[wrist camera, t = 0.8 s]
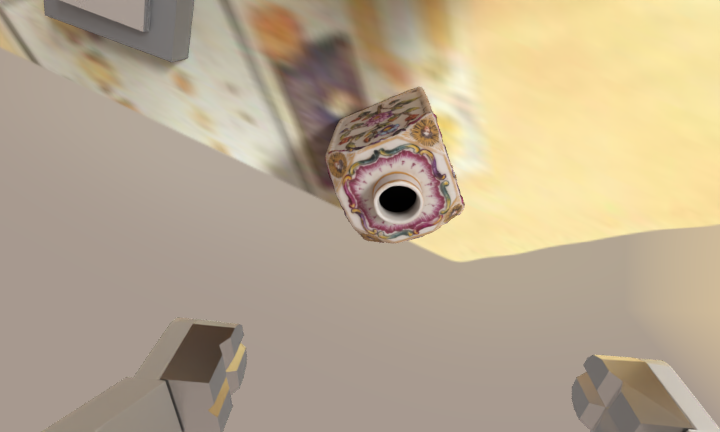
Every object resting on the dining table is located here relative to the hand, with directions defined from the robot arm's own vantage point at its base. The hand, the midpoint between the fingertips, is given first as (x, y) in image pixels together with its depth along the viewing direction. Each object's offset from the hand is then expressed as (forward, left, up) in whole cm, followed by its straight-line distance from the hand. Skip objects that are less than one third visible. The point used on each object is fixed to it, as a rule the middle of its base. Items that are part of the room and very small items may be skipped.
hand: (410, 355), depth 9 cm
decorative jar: (+8, +4, -42) cm, 43 cm away
